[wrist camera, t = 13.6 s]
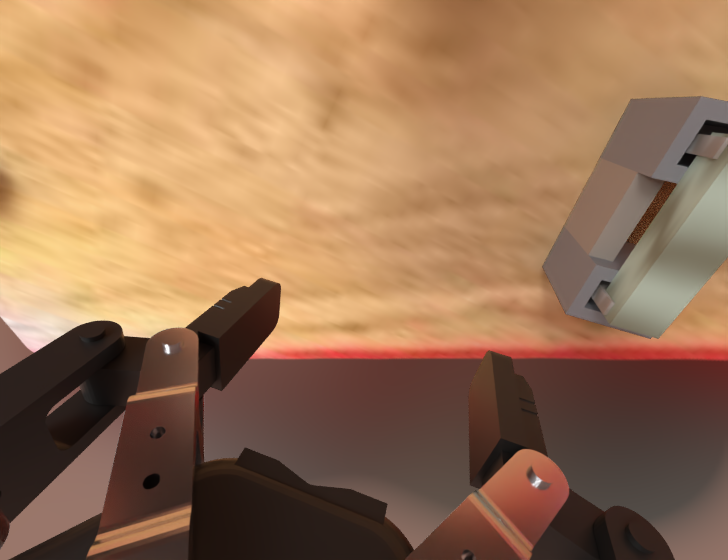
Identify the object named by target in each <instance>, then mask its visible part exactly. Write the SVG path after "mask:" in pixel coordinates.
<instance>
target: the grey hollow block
mask: <svg viewBox="0 0 728 560" xmlns="http://www.w3.org/2000/svg"><path fill="white" fill-rule="evenodd" d="M712 132H714V133H723V134H728V101H723V100H717V99H712V98H707V97H702V96H699V97H672V98H645V99H631V100H630V102H629V104H628V106H627V108H626V110H625V111H624V113H623V115H622V117H621V119H620V121H619V123H618V125H617V127H616V128H615V130H614V132H613V134H612V136H611V138H610V140H609V142H608V144H607V145H606V147H605V149H604V151H603V153H602V155H601V157H600V159H599V160H598V162H597V164H596V166H595V168H594V170H593V172H592V174H591V176H590V177H589V179H588V181H587V183H586V185H585V187H584V189H583V191H582V193H581V194H580V196H579V198H578V200H577V202H576V204H575V206H574V208H573V210H572V211H571V213H570V215H569V217H568V219H567V221H566V223H565V225H564V227H563V228H562V230H561V232H560V234H559V236H558V238H557V240H556V242H555V244H554V245H553V247H552V249H551V251H550V253H549V255H548V257H547V259H546V261H545V262H544V264H543V266H542V267H543V269H544V271H545V273H546V275H547V277H548V279H549V281H550V283H551V285H552V287H553V289H554V291H555V293H556V295H557V297H558V300H559V302H560V304H561V306H562V308H563V310H564V312H565V314H567V315H570V316H574V317H577V318H581V319H584V320H588V321H591V322H594V323H598V324H601V325H605V326H608V327H612V328H615V329H618V330H622V331H625V332H629V333H632V334H636V335H639V336H642V337H646V338H649V339H651V338H652V337H651V336H647V335H644V334H640V333H637V332H633V331H630V330H627V329H623V328H620V327H616V326H613V325H610V324H609V323H608V321H607V320H606V318H605V317H604V315H603V314H602V312H601V311H600V309H599V308H598V306H597V305H596V303H595V302H594V300H593V299H592V297H591V296H592V294H593V293H594V291H595V290H596V288H597V287H598V285H599V284H600V282H601V281H602V280H604V281H607V282H612V280H613V279H614V277H615V276H616V274H617V273H618V271H619V270H620V268H621V267H622V265H623V264H624V262H625V261H626V259H627V258H628V257H629V255H630V254H631V252H632V251H633V249H634V248H635V246H636V245H635V244H633V243H629V242H626V241H627V239H628V238H629V236H630V235H631V233H632V231H633V230H634V228H635V227H636V225H637V224H638V222H639V221H640V219H641V218H642V216H643V215H644V213H645V212H646V210H647V208H648V207H649V205H650V204H651V202H652V201H653V199H654V198H655V196H656V195H657V193H658V192H659V190H660V188H661V187H662V185H663V184H664V182H665V181H668V182H673V183H677V184H678V183H679V181H680V180H681V178H682V177H683V175H684V174H685V172H686V171H687V169H688V168H689V166H690V165H691V163H692V162H693V160H694V159H695V157H696V156H697V155H694V154H689V153H685V152H686V150H687V149H688V147H689V145H690V144H691V142H692V141H693V139H694V138H695V136H696V135H697V134H704V135H711V134H712Z"/></svg>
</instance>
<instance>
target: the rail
mask: <svg viewBox="0 0 728 560" xmlns="http://www.w3.org/2000/svg"><path fill="white" fill-rule="evenodd" d="M685 153H689V154H694V155H697V156H696V157H695V159H694V160H693V162H692V163H691V165H690V166H689V168H688V169H687V171H686V172H685V174H684V175H683V177H682V178H681V180H680V181H679V183H678V184H677V185H676V187H675V188H674V190H673V191H672V193H671V194H670V196H669V197H668V199H667V200H666V202H665V203H664V205H663V206H662V208H661V209H660V211H659V212H658V214H657V215H656V217H655V218H654V220H653V221H652V222H651V224H650V225H649V227H648V228H647V230H646V231H645V233H644V234H643V236H642V237H641V239H640V240H639V242H638V243H637V245H636V246H635V248H634V249H633V251H632V252H631V254H630V255H629V257H628V258H627V259H626V261H625V262H624V264H623V265H622V267H621V268H620V270H619V271H618V273H617V274H616V276H615V277H614V279H613V280H612V282H607V281H604V280H602V281H601V282H600V284H599V285H598V287H597V288H596V290H595V291H594V293H593V294H592V296H591V297H592V299H593V300H594V302H595V303H596V305H597V306H598V308H599V309H600V311H601V312H602V314H603V315H604V317H605V318H606V320H607V321H608V323H609V324H610V325H613V326H616V327H620V328H623V329H627V330H630V331H633V332H637V333H640V334H644V335H647V336H651V337H654V338H657V339H659V337H660V336H661V335H662V334H663V333H664V332H665V330H666V329H667V328H668V327H669V326H670V324H671V323H672V322H673V321H674V320H675V319H676V317H677V316H678V315H679V314H680V313H681V312H682V310H683V309H684V308H685V307H686V306H687V304H688V303H689V302H690V301H691V300H692V299H693V297H694V296H695V295H696V294H697V293H698V292H699V290H700V289H701V288H702V287H703V286H704V284H705V283H706V282H707V281H708V280H709V279H710V277H711V276H712V275H713V274H714V273H715V272H716V270H717V269H718V268H719V267H720V266H721V265H722V263H723V262H724V261H725V260H726V259H727V257H728V134H723V133H714V132H712V134H711V135H704V134H697V135H696V136H695V138H694V139H693V141H692V142H691V144H690V145H689V147H688V149H687V150H686V152H685Z"/></svg>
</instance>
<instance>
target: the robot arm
mask: <svg viewBox="0 0 728 560" xmlns="http://www.w3.org/2000/svg"><path fill="white" fill-rule="evenodd" d="M280 294H281V286H280V284H279V283H276V282H273V281H270V280H266V279H263V278H260V279H258V280H257V281H256V282H255V283H253V284H252V285H251V286H250V287H246V286H243V287H240V288H238V289H235V290H232V291H231V292H229V293H228V294H227V295H226V296H224V297H223V298H222V300H219V301H218V302H217V303H216V304H214V306H212V307H211V308H209V309H208V310H207V311H206V312H204V313H203V314H202V315H201V316H199V317H198V318H197V319H196V320H194V321H193V322H192V323H191V324H189V325H188V326H187V327H186V328H170V329H166V330H163V331H161V332H158V333H157V334H155V335H153V336H152V337H151V338H141V337H128V336H124V335H123V331H122V328H121V326H120V325H119V324H117V323H115V322H112V321H94V322H89V323H85V324H82V325H80V326H77V327H75V328H74V329H72V330H70V331H69V332H67V333H65V334H64V335H62V336H61V337H59V338H57V339H56V340H54V341H53V342H51V343H49V344H48V345H46V346H45V347H43V348H41V349H40V350H38V351H36V352H35V353H33V354H32V355H30V356H29V357H27V358H25V359H24V360H22V361H20V362H19V363H17V364H16V365H14V366H12V367H11V368H9V369H8V370H6V371H4V372H3V373H1V374H0V549H1V547H2V546H3V544H4V542H5V540H6V539H7V536H8V533H9V528H10V523H11V521H13V520H14V519H15V518H16V516H18V515H19V514H20V513H21V512H22V511H23V510H24V509H25V508H26V507H27V506H28V505H29V504H30V503H31V502H32V501H33V500H34V499H35V498H36V497H37V496H38V495H39V494H40V493H41V492H42V491H43V490H44V489H45V488H46V487H47V486H48V485H49V484H50V483H51V482H52V481H53V480H54V479H55V478H56V477H57V476H58V475H59V474H60V473H61V472H63V471H64V470H65V469H66V468H67V466H68V465H70V464H71V463H72V462H73V461H74V460H75V459H76V458H77V457H78V456H79V455H80V454H81V453H82V452H83V451H84V450H85V449H86V448H87V447H88V446H89V445H90V444H91V443H92V442H93V441H94V440H95V439H96V438H97V437H98V436H99V435H100V434H101V433H102V432H103V431H104V430H105V429H106V428H107V427H108V426H109V425H110V424H111V423H112V422H113V421H114V420H115V419H117V418H118V417H119V416H120V415H121V414H122V413H123V412H124V411H125V413H124V417H123V422H122V426H121V431H120V436H119V440H118V444H117V449H116V453H115V458H114V462H113V467H112V471H111V476H110V480H109V485H108V489H107V494H106V498H105V502H104V507H103V511H102V513H100V514H98V515H96V516H94V517H92V518H90V519H88V520H86V521H84V522H82V523H80V524H79V525H76V526H75V527H72V528H70V529H69V530H67V531H65V532H63V533H61V534H59V535H57V536H55V537H53V538H51V539H49V540H47V541H45V542H43V543H41V544H39V545H37V546H35V547H33V548H31V549H29V550H27V551H25V552H23V553H21V554H19V555H17V556H15V557H13V558H11V559H9V560H675V559H674V557H673V554H672V552H671V550H670V548H669V546H668V545H667V543H666V541H665V540H664V539H663V537H662V536H661V535H660V533H659V532H658V531H657V530H656V529H655V528H654V527H653V526H652V525H651V524H650V523H649V522H648V521H647V520H646V519H644V518H643V517H642V516H640V515H639V514H637V513H636V512H634V511H632V510H630V509H628V508H625V507H621V506H613V507H611V508H609V509H608V510H607V511H605V512H604V511H602V510H601V509H599V508H598V507H596V506H595V505H593V504H592V503H590V502H588V501H587V500H585V499H584V498H582V497H581V496H579V495H578V494H576V493H575V492H573V491H572V490H571V489H570V488H569V486H568V483H567V480H566V478H565V476H564V475H563V473H562V471H561V470H560V469H559V468H558V466H557V465H556V464H555V463H554V462H553V461H552V460H550V459H549V458H548V455H547V452H546V447H545V443H544V438H543V434H542V430H541V426H540V422H539V418H538V416H537V414H538V413H537V409H536V405H534V404H535V401H534V397H533V393H532V390H531V388H530V386H529V385H528V383H527V382H526V380H525V379H524V377H523V376H520V375H517V374H515V373H514V368H513V362H512V359H511V357H508V356H505V355H502V354H499V353H496V352H492V351H488V352H487V353H486V354H485V356H484V358H483V360H482V362H481V364H480V366H479V368H478V370H477V372H476V374H475V376H474V378H473V380H472V383H471V385H470V390H469V397H468V399H469V400H468V401H469V459H470V460H469V462H470V485H471V486H474V487H476V488H479V489H480V490H479V491H474V492H473V493H472V494H471V495H470V496H468V497H467V498H466V499H465V501H463V502H462V503H461V504H460V505H459V506H458V507H457V508H456V509H455V510H454V511H453V512H452V513H451V514H450V515H449V516H448V517H447V518H446V519H445V520H444V521H443V522H442V523H441V524H440V525H439V526H438V527H437V528H436V529H435V530H434V531H433V532H432V533H431V534H430V535H429V536H428V537H427V538H426V539H425V540H424V541H423V542H422V543H421V544H420V545H419V546H418V547H417V548H416V549H415V550H414V549H413V547H412V546H411V544H410V543H409V541H408V540H407V538H406V537H405V536H404V534H403V533H402V532H401V531H400V530H399V528H397V527H396V526H395V525H394V524H393V523H392V522H391V521H390V520H389V519H387V518H386V517H385V514H386V508H387V503H384V502H382V501H379V500H377V499H374V498H372V497H369V496H367V495H364V494H361V493H359V492H356V491H354V490H351V489H343V488H334V487H323V486H314V485H310V484H308V483H307V482H305V481H304V480H303V479H301V478H300V477H299V476H297V475H296V474H295V473H294V472H292V471H291V470H290V469H289V468H287V467H286V466H285V465H283V464H282V463H281V462H280V461H278V460H276V459H273V458H271V457H268V456H266V455H263V454H260V453H258V452H255V451H252V450H250V449H248V448H244V450H243V452H242V453H241V455H240V456H239V458H223V459H216V460H212V461H208V462H205V459H204V393H205V392H206V391H207V390H208V389H209V388H210V387H212V388H215V389H218V390H220V391H222V390H223V389H224V388H225V387H226V386H227V384H228V383H229V382H230V381H231V380H232V378H233V377H234V376H235V375H236V374H237V373H238V371H239V370H240V369H241V368H242V367H243V365H244V364H245V363H246V362H247V361H248V360H249V358H250V357H251V356H252V355H253V354H254V352H255V351H256V350H257V349H258V348H259V347H260V345H261V344H262V343H263V342H264V341H265V339H266V338H267V337H268V336H269V335H270V334H271V332H272V331H273V330H274V328H275V327H276V324H277V322H278V319H279V309H280ZM78 386H80V389H81V390H79V391H78V392H77V393H76V394H75V395H73V396H72V397H71V398H70V399H68V400H67V401H66V402H65V403H63V404H62V405H61V406H60V407H58V408H57V409H56V410H55V411H53V412H52V413H51V414H50V415H49V416H47V414H48V412H49V411H50V410H51V408H52V407H53V406H54V405H55V404H57V403H58V402H59V401H60V400H61V399H63V398H64V397H66V396H67V395H68V394H69V393H71V392H72V391H73V390H74V389H76V388H77V387H78Z"/></svg>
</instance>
